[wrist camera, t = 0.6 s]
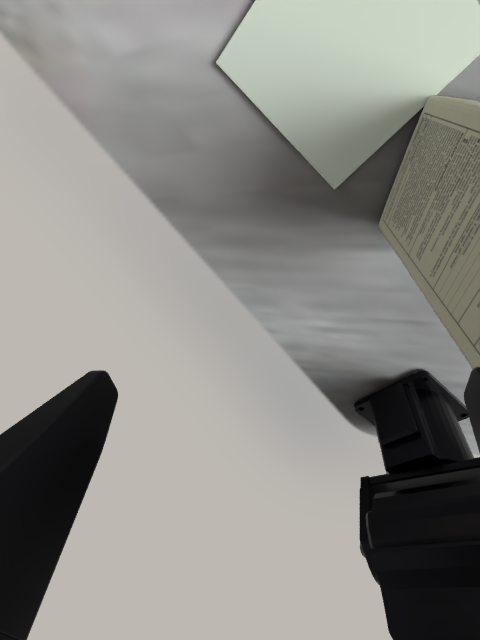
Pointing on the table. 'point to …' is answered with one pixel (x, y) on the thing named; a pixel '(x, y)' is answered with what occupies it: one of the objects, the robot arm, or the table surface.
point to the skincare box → (442, 216)
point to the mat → (348, 69)
